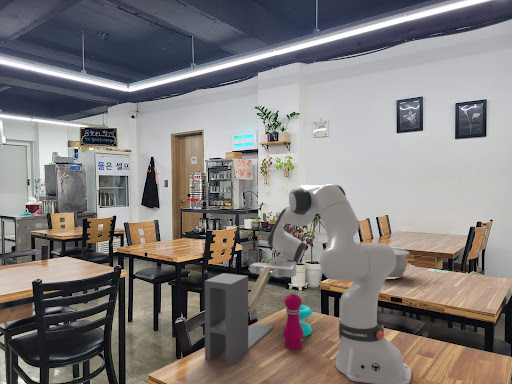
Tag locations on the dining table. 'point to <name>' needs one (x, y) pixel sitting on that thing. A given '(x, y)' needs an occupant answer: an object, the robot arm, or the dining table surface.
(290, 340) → the pepper mill
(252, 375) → the dining table surface
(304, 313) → the donuts
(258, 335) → the mat
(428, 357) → the dining table surface
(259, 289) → the bar
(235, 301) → the stand
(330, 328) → the dining table surface
